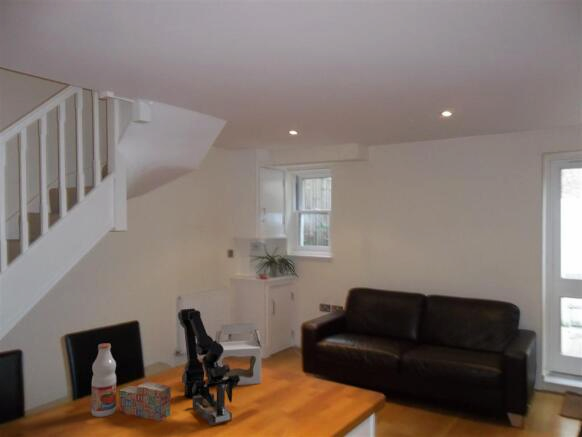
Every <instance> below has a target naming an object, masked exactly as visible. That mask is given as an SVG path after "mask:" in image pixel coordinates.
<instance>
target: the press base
mask: <svg viewBox="0 0 582 437" xmlns="http://www.w3.org/2000/svg"><path fill="white" fill-rule="evenodd" d="M210 395H211V398H212V401H213V407H212V406H211V405H210V404H209V403H208V402H207V401H206V399H204V398H203V397H202V396H201V395H198V396H193V399H192V408H193V409H194V410H195V411H196V412H197V413H198V414H199V416H201V417H202V418H203V419H204V421H205V422H207V424H208V425H210V426H216V425H220V424H224V423H228V422H232V420H233V413H232V412H231V411H230V410H229V409H227V407H225V410H226V411H227V412H228V413H229V414H230V419H229V420H225V421H221V422H215V421H214V420H213V417H212V416H211V413H213V412H216V402H217V398H215V394H214V393H213V392H210Z"/></svg>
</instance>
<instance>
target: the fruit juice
mask: <svg viewBox="0 0 582 437" xmlns="http://www.w3.org/2000/svg"><path fill="white" fill-rule="evenodd" d="M111 348H112V346H111V343H110V342H108V343H107V342H106V343H100V344H98V346H97V350H98V354H97V356H96V358H95V360H94V362H93V363H92V366H91V367H92V368H91V369H92V370H91V371H92V373H93V374H92V377H91V378H92V379H91V408H90V409H91V410H90V411H91V414H92V416H93V417H96V418H97V417H98V418H102V417H107V416H108V417H109V416H111V415H113V414H114V413H115V412H116V409H117V375H116V367H117V362H116V360H115V359H114V357H113V355H112V352H111Z"/></svg>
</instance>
